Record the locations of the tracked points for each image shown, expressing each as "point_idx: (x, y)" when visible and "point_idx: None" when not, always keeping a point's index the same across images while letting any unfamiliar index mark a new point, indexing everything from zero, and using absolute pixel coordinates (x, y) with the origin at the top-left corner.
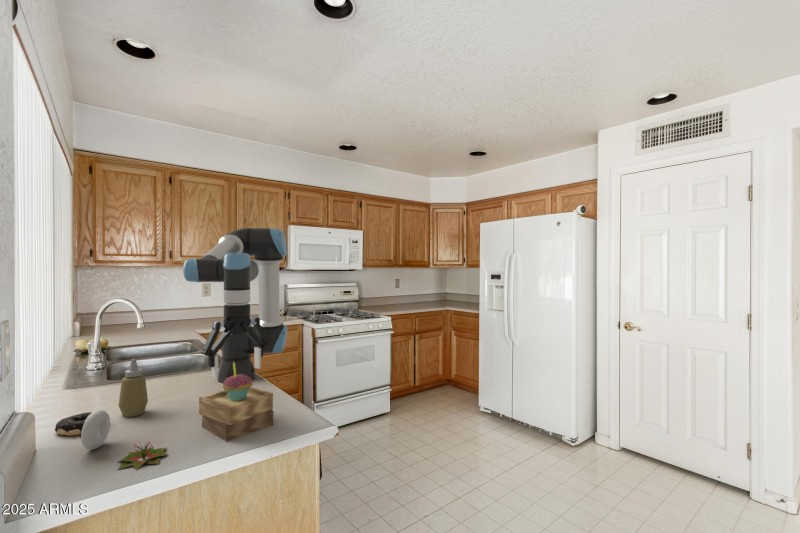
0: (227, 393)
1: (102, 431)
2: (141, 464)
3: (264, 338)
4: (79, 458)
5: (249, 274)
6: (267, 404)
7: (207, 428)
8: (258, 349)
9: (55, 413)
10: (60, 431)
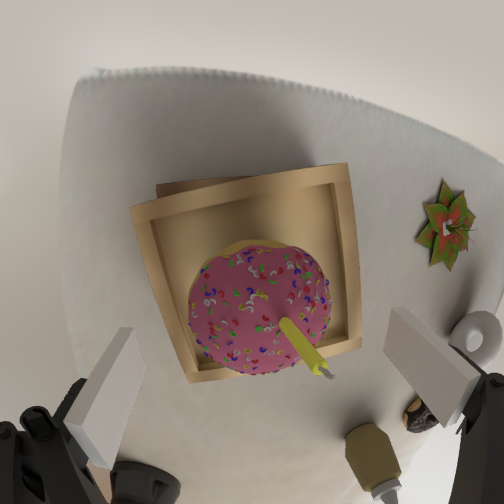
0: None
1: (462, 344)
2: (459, 198)
3: (3, 473)
4: (477, 301)
5: None
6: (167, 196)
7: None
8: (86, 422)
9: (404, 458)
10: None
